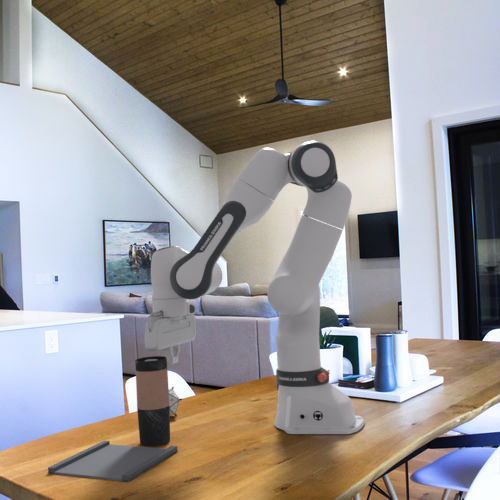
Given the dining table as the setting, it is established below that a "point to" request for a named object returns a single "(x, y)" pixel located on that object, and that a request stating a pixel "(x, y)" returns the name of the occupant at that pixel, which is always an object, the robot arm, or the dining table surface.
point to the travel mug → (153, 401)
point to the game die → (173, 402)
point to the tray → (112, 461)
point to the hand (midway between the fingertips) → (172, 363)
